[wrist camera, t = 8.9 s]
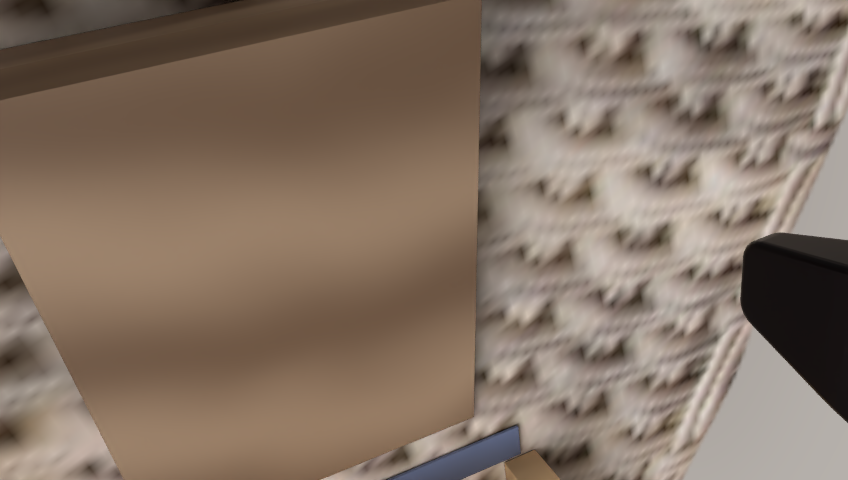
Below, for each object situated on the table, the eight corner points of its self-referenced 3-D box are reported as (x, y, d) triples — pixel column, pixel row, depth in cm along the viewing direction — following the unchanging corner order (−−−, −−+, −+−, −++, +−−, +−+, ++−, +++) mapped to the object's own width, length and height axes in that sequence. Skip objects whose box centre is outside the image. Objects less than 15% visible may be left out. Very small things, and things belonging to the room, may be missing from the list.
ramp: (-40, 48, 16) (-69, 96, 12) (396, -39, 19) (480, -22, 15) (153, 517, 23) (172, 644, 19) (457, 397, 26) (527, 485, 22)
